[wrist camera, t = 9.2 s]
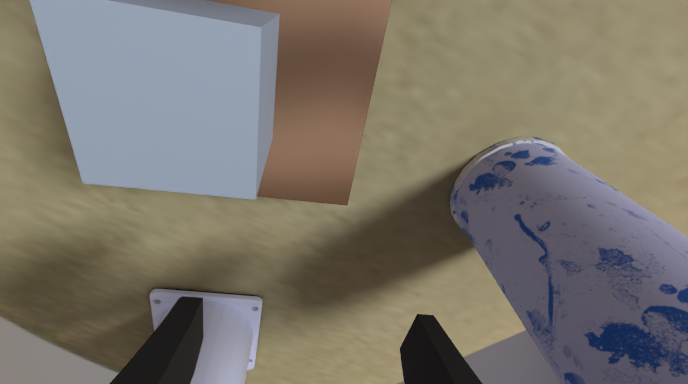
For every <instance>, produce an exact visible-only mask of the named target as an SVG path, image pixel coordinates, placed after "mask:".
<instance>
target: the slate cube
mask: <svg viewBox="0 0 688 384" xmlns="http://www.w3.org/2000/svg"><path fill="white" fill-rule="evenodd" d="M30 3H31V7H32V10H33V14H34V17H35V21H36V24H37V27H38V31H39V34H40V38H41V41H42V45H43V48H44V52H45V55H46V58H47V62H48V65H49V69H50V72H51V76H52V79H53V83H54V86H55V90H56V93H57V96H58V100H59V103H60V107H61V110H62V114H63V117H64V121H65V124H66V127H67V131H68V134H69V138H70V141H71V145H72V148H73V152H74V155H75V158H76V162H77V165H78V169H79V172H80V176H81V179H82V183H85V184H96V185H107V186H117V187H128V188H138V189H149V190H160V191H170V192H181V193H191V194H202V195H212V196H223V197H234V198H244V199H255V200H256V197H257V193H258V190H259V186H260V182H261V179H262V175H263V171H264V168H265V164H266V160H267V157H268V153H269V149H270V146H271V142H272V138H273V121H274V104H275V87H276V70H277V52H278V35H279V18H280V14H277V13H272V12H267V11H261V10H256V9H250V8H245V7H239V6H234V5H229V4H223V3H218V2H212V1H207V0H30Z"/></svg>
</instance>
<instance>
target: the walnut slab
mask: <svg viewBox="0 0 688 384" xmlns="http://www.w3.org/2000/svg"><path fill="white" fill-rule="evenodd" d="M207 1H212V2H218V3H223V4H229V5H234V6H239V7H245V8H250V9H256V10H261V11H267V12H272V13H277V14H280V18H279V35H278V52H277V70H276V87H275V104H274V121H273V138H272V142H271V146H270V149H269V153H268V157H267V160H266V164H265V168H264V171H263V175H262V179H261V182H260V186H259V190H258V193H257V196H259V197H269V198H279V199H289V200H299V201H308V202H318V203H328V204H338V205H347V204H348V200H349V195H350V191H351V186H352V182H353V177H354V172H355V168H356V163H357V159H358V154H359V150H360V145H361V140H362V136H363V131H364V127H365V122H366V118H367V113H368V108H369V104H370V99H371V95H372V90H373V86H374V81H375V76H376V72H377V67H378V63H379V58H380V54H381V49H382V44H383V40H384V35H385V31H386V26H387V22H388V17H389V12H390V8H391V3H392V0H207Z"/></svg>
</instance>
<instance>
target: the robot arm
mask: <svg viewBox="0 0 688 384" xmlns="http://www.w3.org/2000/svg"><path fill="white" fill-rule="evenodd" d="M149 297H150V304H151V312H152V319H153V326H154V333H153V334H152V335H151V336H150V338H149V339H148V340H147V341H146V342H145V344H144V345H143V346H142V347H141V348H140V350H139V351H138V352H137V353H136V354H135V355H134V357H133V358H132V359H131V360H130V361H129V363H128V364H127V365H126V366H125V367H124V368H123V369H122V371H121V372H120V373H119V374H118V375H117V376H116V377H115V378H114V379H113V380H112V382H111V383H110V384H245V379H246V373H247V370H251V369H253V368H254V365H255V358H256V350H257V342H258V334H259V327H260V319H261V311H262V303H263V300H262V299H261V298H260V297H257V296H244V295H231V294H219V293H206V292H193V291H181V290H168V289H154V290H152V291H151V293H150V296H149ZM400 353H401V362H402V369H403V376H404V382H405V384H482V383H481V381H480V380H479V379H478V377H477V376H476V375H475V373H474V372H473V370H472V369H471V368H470V366H469V365H468V364H467V362H466V361H465V360H464V358H463V357H462V355H461V354H460V353H459V351H458V350H457V348H456V347H455V345H454V344H453V343H452V341H451V340H450V338H449V337H448V335H447V334H446V333H445V331H444V330H443V328H442V327H441V325H440V324H439V323H438V321H437V320H436V318H435V317H434V316H433V315H422V314H417V316H416V318H415V320H414V322H413V324H412V326H411V328H410V330H409V332H408V334H407V336H406V338H405V339H404V341H403V343H402V345H401V347H400Z"/></svg>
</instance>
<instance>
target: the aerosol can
mask: <svg viewBox="0 0 688 384" xmlns="http://www.w3.org/2000/svg"><path fill="white" fill-rule="evenodd" d="M450 208H451V214H452V216H453V218H454V219H455V221H456V223H457V224H458V226H459V228H460V229H461V230H462V231H464V232H465V233H466V234H467V235H468V237H469V239H470V240H471V242H472V243H473V245H474V247H475V248H476V250H477V251H478V253H479V255H480V256H481V258H482V259H483V261H484V263H485V264H486V266H487V267H488V269H489V271H490V272H491V274H492V275H493V277H494V279H495V280H496V282H497V283H498V285H499V287H500V288H501V290H502V291H503V293H504V294H505V296H506V298H507V299H508V301H509V302H510V304H511V306H512V307H513V309H514V310H515V312H516V314H517V315H518V317H519V318H520V320H521V322H522V323H523V325H524V326H525V328H526V330H527V331H528V332H529V334H530V336H531V337H532V339H533V341H534V342H535V344H536V346H537V347H538V349H539V350H540V352H541V354H542V355H543V357H544V358H545V360H546V362H547V363H548V365H549V366H550V368H551V369H552V371H553V373H554V374H555V376H556V378H557V379H558V381H559V382H560V384H688V237H687V236H686V235H684V234H683V233H681V232H680V231H678V230H677V229H675V228H674V227H672V226H670V225H669V224H667V223H666V222H664V221H663V220H661V219H660V218H658V217H657V216H655V215H654V214H652V213H651V212H649V211H648V210H646V209H645V208H643V207H642V206H640V205H639V204H637V203H636V202H634V201H633V200H631V199H630V198H628V197H627V196H625V195H624V194H622V193H621V192H619V191H618V190H616V189H615V188H613V187H612V186H610V185H609V184H607V183H606V182H604V181H603V180H601V179H599V178H598V177H596V176H595V175H593V174H592V173H590V172H589V171H587V170H586V169H584V168H583V167H581V166H580V165H578V164H577V163H575V162H574V161H572V160H571V159H569V158H568V157H567V156H566V155H565V154H564V153H563V152H562V151H561V150H560V149H559V148H558V147H557V146H556V145H554V144H553V143H550V142H548V141H545V140H542V139H540V138H537V137H517V138H513V139H510V140H506V141H503V142H499V143H497V144H495V145H493V146H491V147H489V148H488V149H486V150H484V151H482V152H481V153H479V154H478V155H477V156H476V157H475V158H474V159H473V160H471V161H470V162H469V163H468V164H467V165H466V166H465V167H464V168H463V170H462V171H461V173H460V174H459V176H458V178H457V179H456V181H455V182H454V184H453V188H452V192H451V196H450Z"/></svg>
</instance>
